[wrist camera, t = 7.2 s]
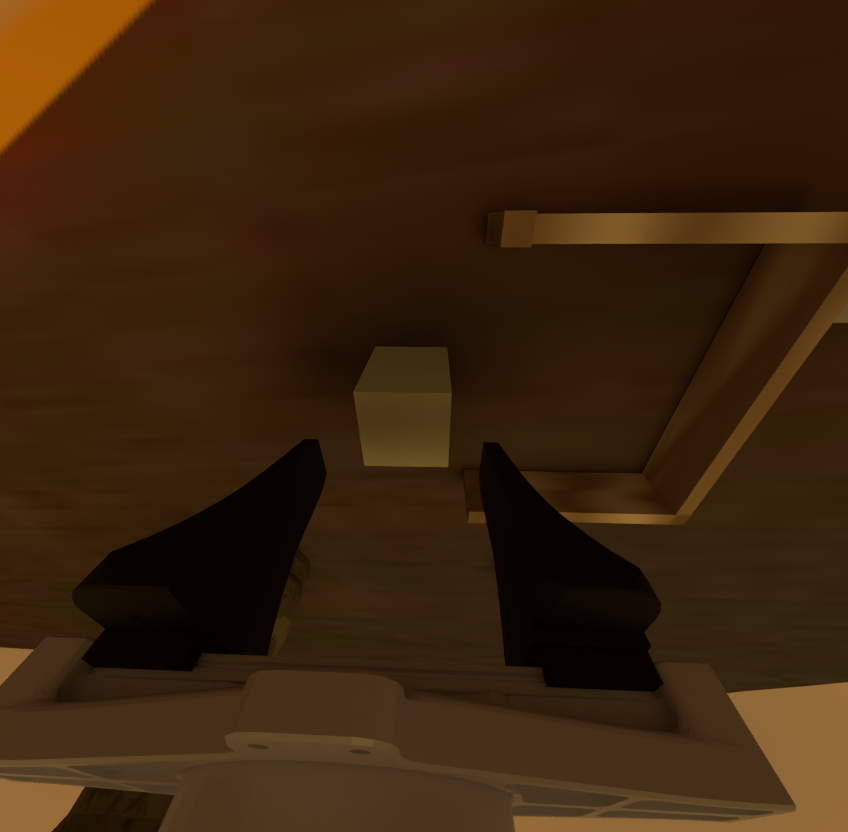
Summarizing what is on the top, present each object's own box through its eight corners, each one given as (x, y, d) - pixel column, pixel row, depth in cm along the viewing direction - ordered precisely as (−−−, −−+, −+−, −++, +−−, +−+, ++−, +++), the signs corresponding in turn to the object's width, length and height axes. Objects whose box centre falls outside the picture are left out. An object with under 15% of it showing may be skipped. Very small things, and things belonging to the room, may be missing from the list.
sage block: (447, 346, 19) (451, 393, 14) (444, 408, 21) (447, 467, 16) (375, 346, 19) (353, 392, 14) (381, 407, 21) (364, 465, 16)
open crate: (803, 211, 14) (924, 208, 11) (648, 483, 24) (685, 528, 21) (488, 213, 15) (504, 210, 11) (463, 479, 25) (467, 522, 21)
